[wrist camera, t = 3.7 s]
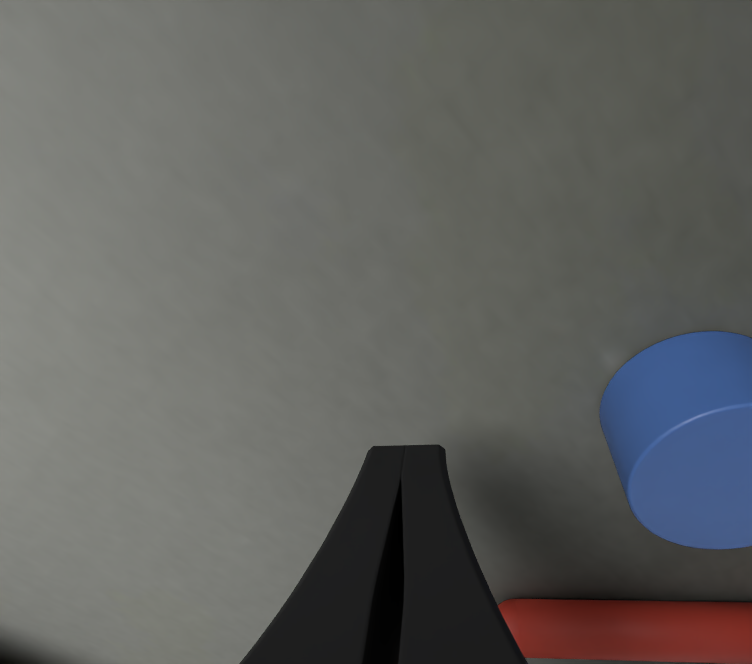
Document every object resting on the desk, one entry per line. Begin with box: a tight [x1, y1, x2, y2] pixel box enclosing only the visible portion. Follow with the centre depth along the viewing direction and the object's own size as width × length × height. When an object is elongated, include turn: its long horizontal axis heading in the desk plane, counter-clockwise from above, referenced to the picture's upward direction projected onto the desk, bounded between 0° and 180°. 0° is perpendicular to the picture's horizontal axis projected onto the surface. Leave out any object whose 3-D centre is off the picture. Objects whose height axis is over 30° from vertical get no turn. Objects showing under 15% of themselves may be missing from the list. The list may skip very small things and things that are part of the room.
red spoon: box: [498, 599, 752, 664], centre depth 14 cm, size 12×4×2 cm, turn 97°
